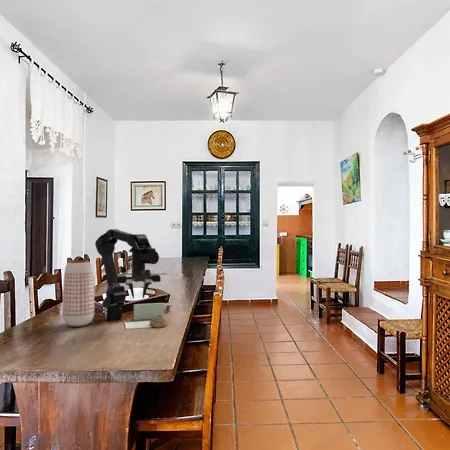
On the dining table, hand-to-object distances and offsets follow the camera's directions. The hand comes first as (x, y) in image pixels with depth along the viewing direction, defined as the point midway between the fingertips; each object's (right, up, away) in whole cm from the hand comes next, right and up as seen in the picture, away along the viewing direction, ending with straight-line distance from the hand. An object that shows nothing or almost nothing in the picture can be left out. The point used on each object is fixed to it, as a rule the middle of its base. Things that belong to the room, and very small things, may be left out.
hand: (138, 298), depth 171 cm
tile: (0, -12, 0) cm, 12 cm away
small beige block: (+8, -12, +27) cm, 30 cm away
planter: (-27, -12, +1) cm, 29 cm away
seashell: (+10, -12, +4) cm, 16 cm away
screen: (+2, -12, +12) cm, 17 cm away
